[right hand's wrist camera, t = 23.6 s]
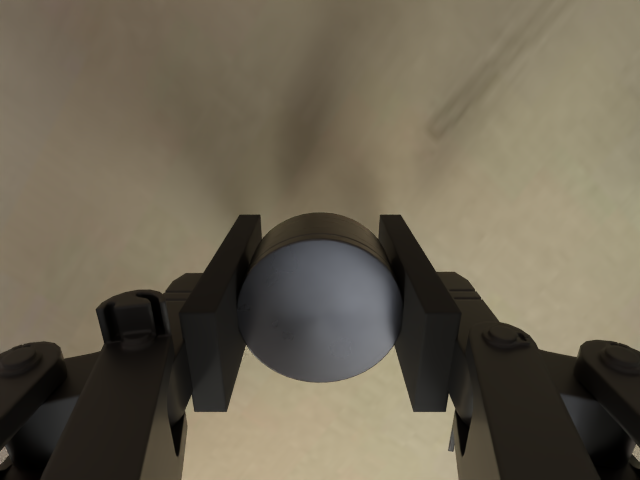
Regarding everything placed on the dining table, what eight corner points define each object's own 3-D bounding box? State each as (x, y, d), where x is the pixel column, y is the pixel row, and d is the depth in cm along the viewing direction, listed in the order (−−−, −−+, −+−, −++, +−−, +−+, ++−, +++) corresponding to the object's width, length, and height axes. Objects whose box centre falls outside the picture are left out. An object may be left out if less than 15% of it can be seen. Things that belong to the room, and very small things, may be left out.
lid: (420, 271, 12) (439, 308, 10) (327, 359, 13) (329, 407, 11) (310, 181, 11) (308, 202, 9) (221, 286, 12) (202, 325, 10)
